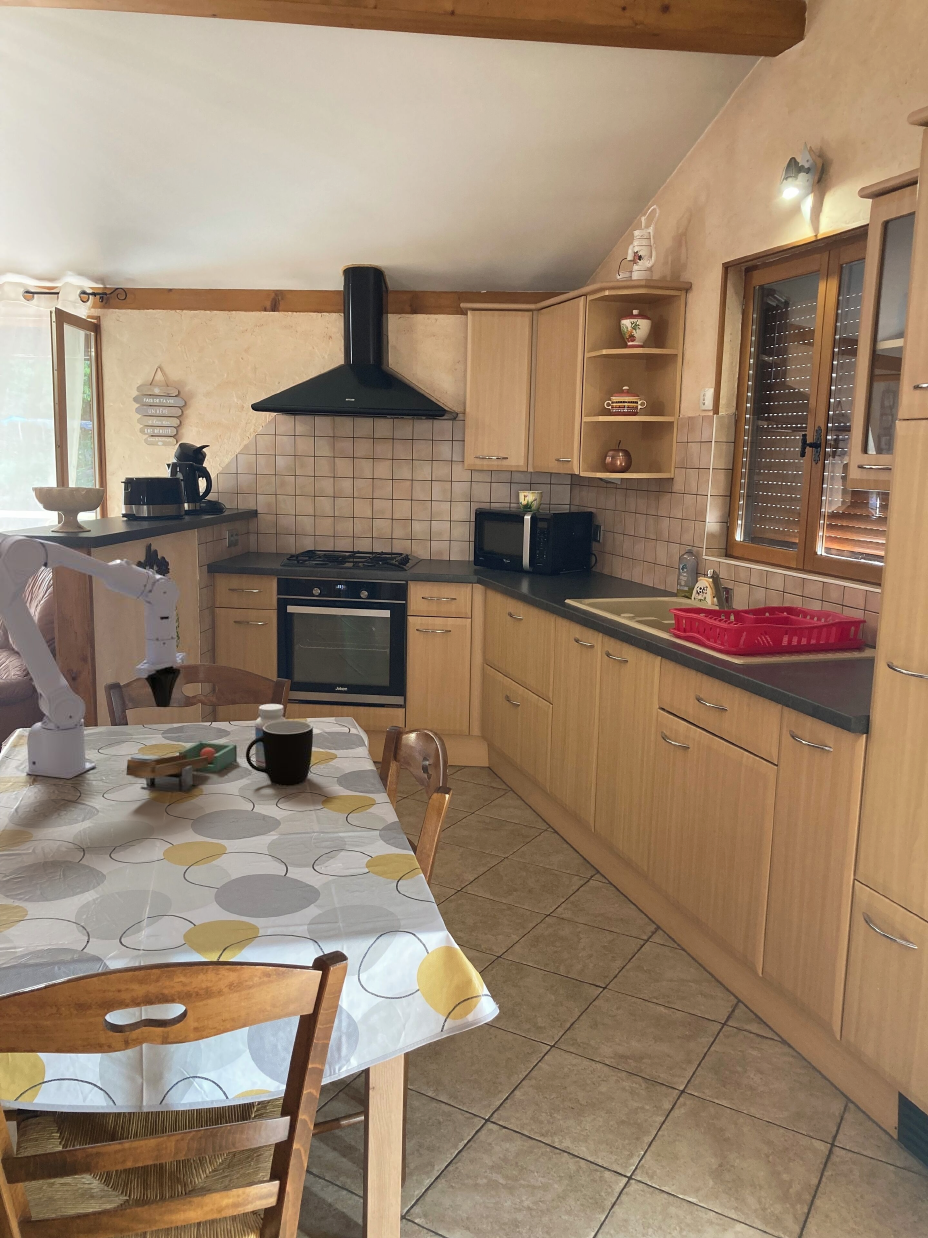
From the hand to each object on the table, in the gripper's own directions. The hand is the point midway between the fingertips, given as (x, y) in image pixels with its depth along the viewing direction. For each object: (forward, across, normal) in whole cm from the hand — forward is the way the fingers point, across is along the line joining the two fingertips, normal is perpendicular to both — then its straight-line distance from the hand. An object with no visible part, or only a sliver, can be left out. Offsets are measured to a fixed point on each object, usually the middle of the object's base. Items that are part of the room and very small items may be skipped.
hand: (162, 706), depth 183 cm
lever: (+7, -16, -7) cm, 19 cm away
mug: (+10, -7, -28) cm, 31 cm away
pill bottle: (+10, +2, -22) cm, 24 cm away
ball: (+8, -2, -11) cm, 14 cm away
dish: (+10, -2, -11) cm, 15 cm away
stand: (+10, -16, -11) cm, 22 cm away
